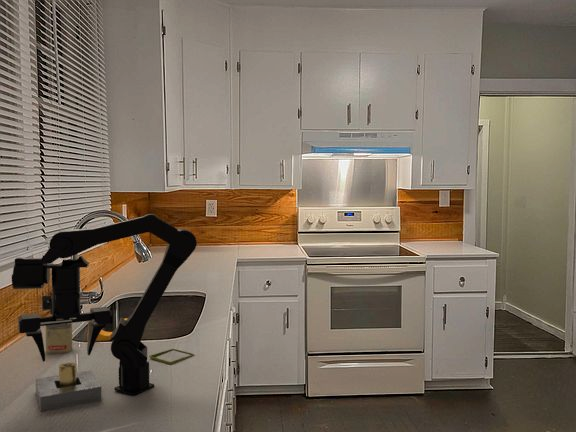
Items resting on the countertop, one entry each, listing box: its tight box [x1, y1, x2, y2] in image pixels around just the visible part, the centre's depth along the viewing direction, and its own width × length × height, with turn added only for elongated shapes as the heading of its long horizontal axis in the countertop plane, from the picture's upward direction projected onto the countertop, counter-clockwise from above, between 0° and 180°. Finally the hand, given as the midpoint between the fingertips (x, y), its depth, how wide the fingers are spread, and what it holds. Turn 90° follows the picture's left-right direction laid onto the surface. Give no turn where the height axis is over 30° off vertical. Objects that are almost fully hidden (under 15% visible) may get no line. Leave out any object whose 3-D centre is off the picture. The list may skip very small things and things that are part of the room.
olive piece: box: [149, 348, 195, 365], centre depth 141 cm, size 9×9×2 cm
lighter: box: [45, 319, 73, 354], centre depth 148 cm, size 7×4×10 cm, turn 99°
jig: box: [35, 369, 102, 412], centre depth 116 cm, size 12×12×3 cm
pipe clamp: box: [86, 317, 129, 343], centre depth 159 cm, size 12×4×6 cm, turn 100°
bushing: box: [58, 362, 77, 388], centre depth 116 cm, size 4×4×7 cm
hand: (66, 357), depth 116 cm, fingers open, 9 cm apart
